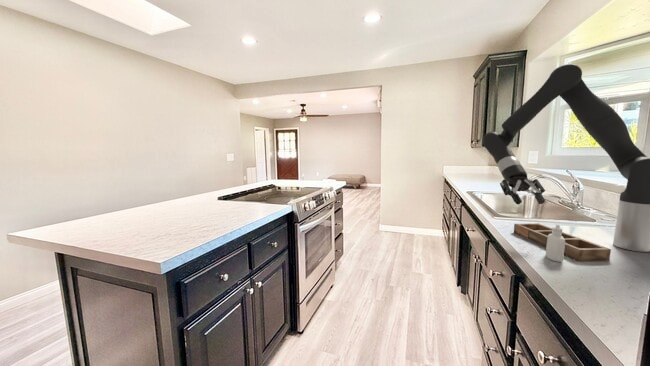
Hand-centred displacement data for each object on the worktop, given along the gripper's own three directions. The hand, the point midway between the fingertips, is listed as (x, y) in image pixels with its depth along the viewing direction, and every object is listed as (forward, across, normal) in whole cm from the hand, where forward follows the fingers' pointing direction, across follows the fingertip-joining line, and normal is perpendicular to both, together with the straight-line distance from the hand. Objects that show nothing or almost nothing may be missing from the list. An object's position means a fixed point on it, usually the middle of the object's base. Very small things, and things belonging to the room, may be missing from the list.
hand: (531, 203), depth 96 cm
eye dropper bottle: (+20, 0, +4) cm, 20 cm away
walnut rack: (+11, +11, +12) cm, 20 cm away
